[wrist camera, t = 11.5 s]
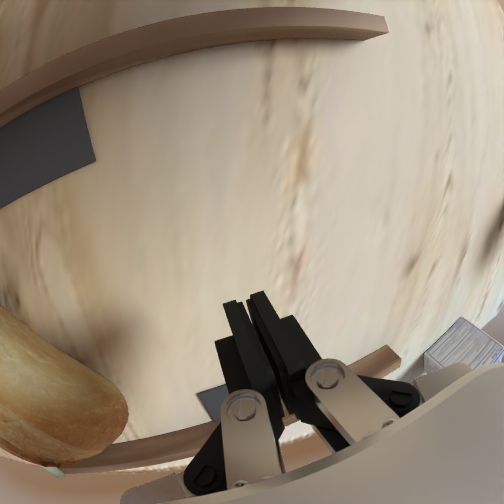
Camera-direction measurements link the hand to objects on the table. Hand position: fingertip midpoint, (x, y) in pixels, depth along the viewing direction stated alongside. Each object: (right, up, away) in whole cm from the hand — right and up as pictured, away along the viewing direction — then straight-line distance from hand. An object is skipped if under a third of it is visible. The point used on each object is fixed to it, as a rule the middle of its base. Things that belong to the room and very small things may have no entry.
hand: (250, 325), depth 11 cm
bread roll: (-16, -5, +4) cm, 17 cm away
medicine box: (+25, -9, +20) cm, 33 cm away
